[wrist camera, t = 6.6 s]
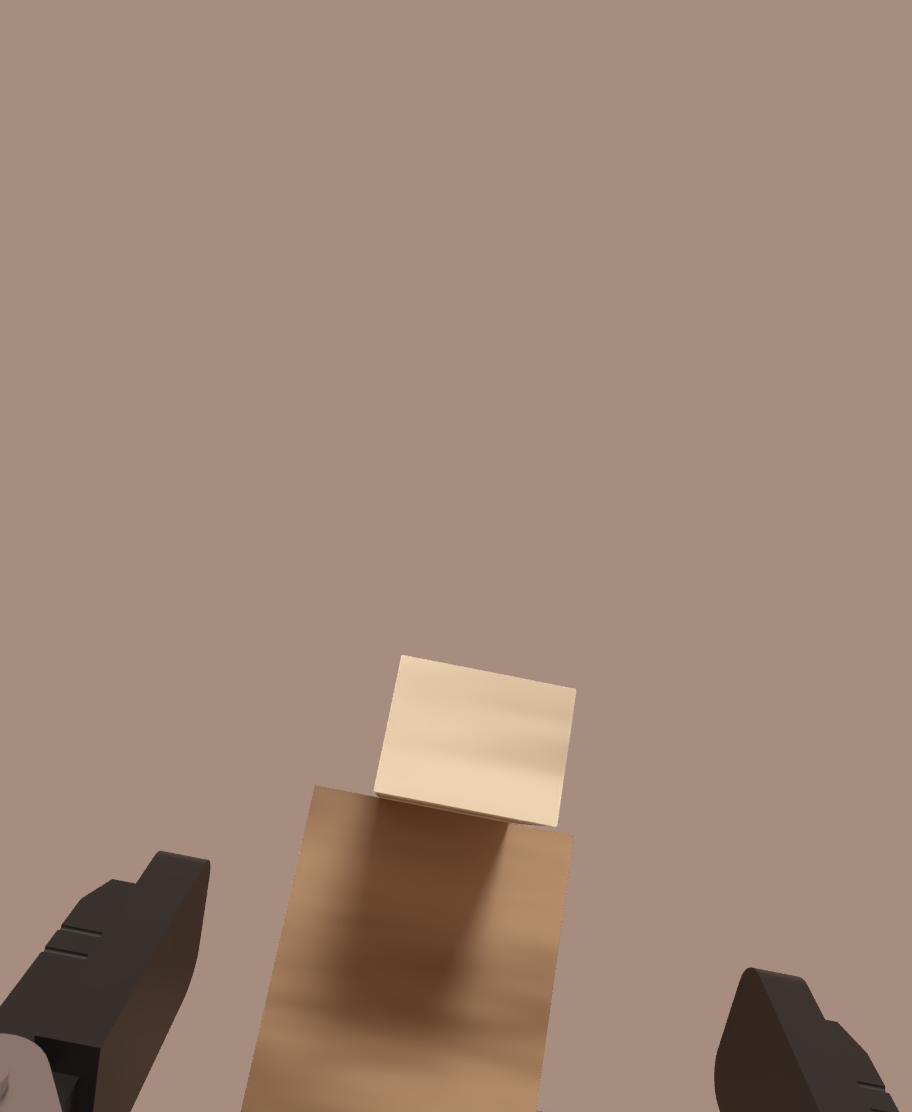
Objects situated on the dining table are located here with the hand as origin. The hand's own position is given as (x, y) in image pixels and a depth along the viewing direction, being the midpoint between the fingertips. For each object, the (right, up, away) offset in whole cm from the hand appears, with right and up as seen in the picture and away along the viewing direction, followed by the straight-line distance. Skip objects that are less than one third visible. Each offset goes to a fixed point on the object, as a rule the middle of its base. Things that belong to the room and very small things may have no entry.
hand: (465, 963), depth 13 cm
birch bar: (-1, -2, +15) cm, 16 cm away
